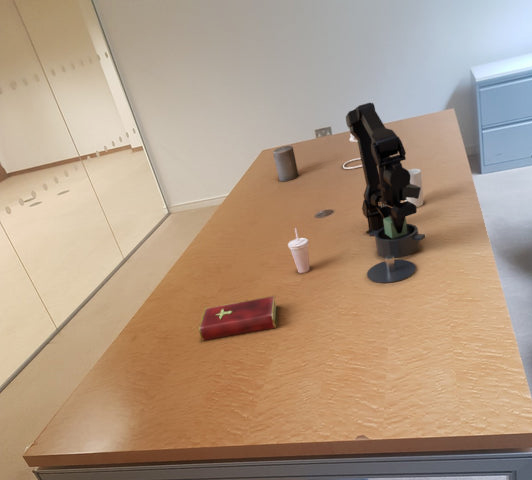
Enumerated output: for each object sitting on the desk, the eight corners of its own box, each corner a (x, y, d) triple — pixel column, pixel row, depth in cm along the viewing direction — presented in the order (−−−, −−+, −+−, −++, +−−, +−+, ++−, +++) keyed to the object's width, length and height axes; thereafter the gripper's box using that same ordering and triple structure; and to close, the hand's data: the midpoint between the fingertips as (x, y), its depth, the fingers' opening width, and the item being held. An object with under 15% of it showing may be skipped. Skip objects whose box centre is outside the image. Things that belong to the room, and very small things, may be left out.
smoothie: (316, 264, 180) (307, 223, 173) (310, 274, 175) (302, 232, 168) (297, 266, 182) (288, 225, 175) (291, 275, 178) (282, 234, 170)
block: (385, 233, 173) (383, 218, 170) (399, 228, 174) (398, 213, 171) (392, 238, 169) (390, 223, 166) (407, 233, 169) (405, 217, 167)
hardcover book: (276, 328, 152) (272, 315, 150) (202, 341, 156) (197, 328, 154) (278, 307, 162) (274, 294, 160) (208, 319, 166) (204, 307, 164)
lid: (400, 288, 154) (398, 270, 151) (358, 281, 163) (355, 265, 161) (424, 265, 162) (423, 248, 159) (383, 260, 171) (381, 244, 168)
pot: (414, 263, 165) (412, 242, 161) (362, 257, 177) (359, 238, 173) (434, 244, 172) (433, 225, 168) (384, 240, 183) (381, 221, 180)
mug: (423, 207, 199) (420, 173, 193) (403, 209, 202) (400, 176, 195) (425, 197, 206) (423, 164, 200) (407, 199, 209) (403, 167, 203)
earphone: (388, 153, 251) (353, 133, 248) (367, 185, 260) (334, 166, 258) (387, 145, 262) (354, 126, 259) (368, 176, 271) (336, 158, 269)
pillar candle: (302, 173, 270) (296, 142, 263) (292, 181, 264) (285, 148, 256) (285, 174, 276) (278, 143, 268) (275, 182, 270) (268, 150, 262)
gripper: (431, 178, 155) (435, 231, 164) (400, 166, 171) (405, 214, 179) (394, 190, 154) (400, 243, 162) (366, 176, 170) (373, 225, 178)
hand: (395, 230), depth 171 cm, fingers closed on block, 5 cm apart
